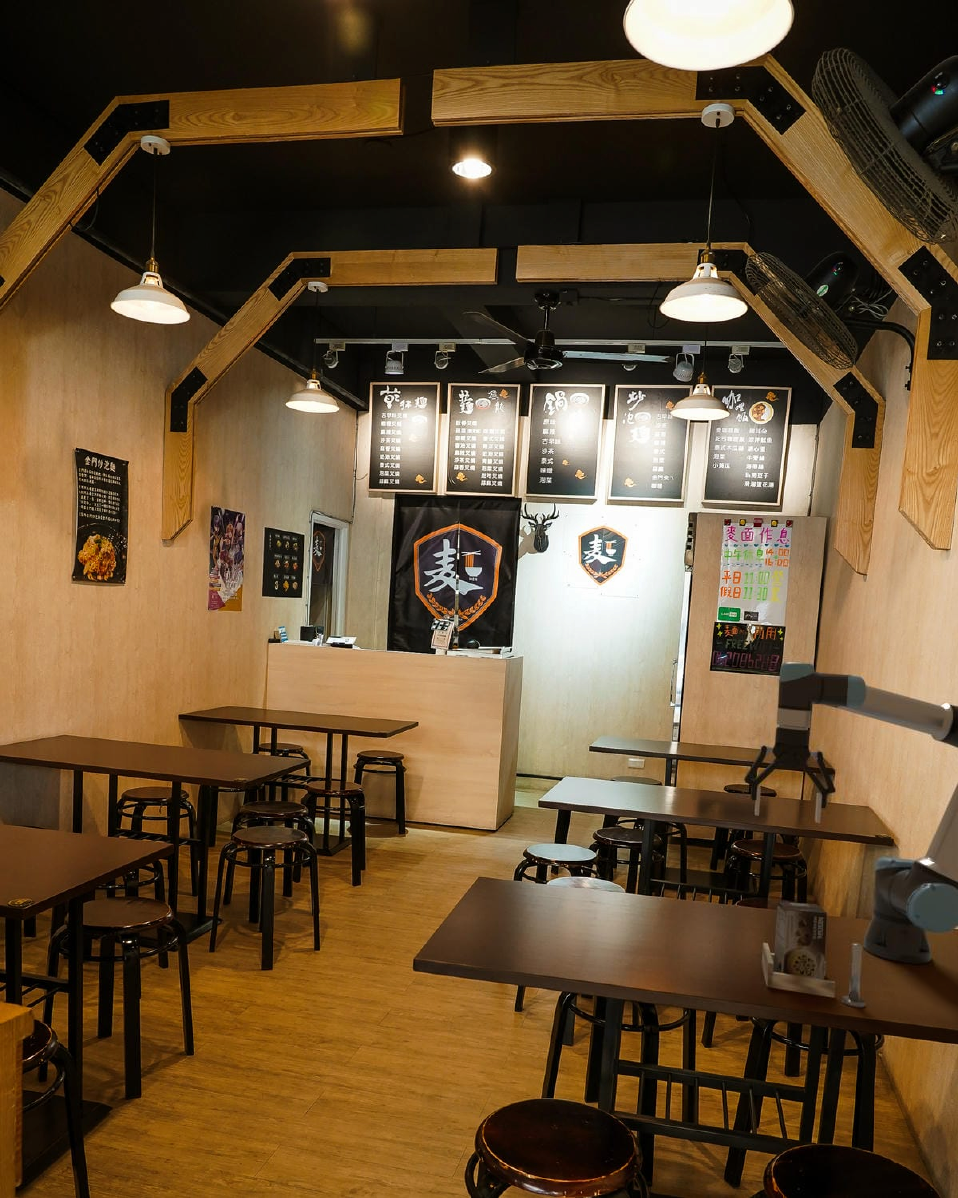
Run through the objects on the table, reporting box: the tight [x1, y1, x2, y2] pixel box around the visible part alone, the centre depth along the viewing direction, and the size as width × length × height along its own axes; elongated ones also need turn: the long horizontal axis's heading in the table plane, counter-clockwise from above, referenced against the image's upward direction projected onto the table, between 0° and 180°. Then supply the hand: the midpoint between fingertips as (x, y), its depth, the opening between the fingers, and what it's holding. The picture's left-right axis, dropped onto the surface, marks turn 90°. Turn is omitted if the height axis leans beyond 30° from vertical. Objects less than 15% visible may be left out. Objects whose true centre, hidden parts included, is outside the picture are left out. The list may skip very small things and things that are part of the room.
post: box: [841, 942, 866, 1009], centre depth 185 cm, size 4×4×12 cm
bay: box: [761, 942, 836, 999], centre depth 195 cm, size 14×14×5 cm
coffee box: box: [773, 901, 828, 980], centre depth 195 cm, size 9×6×16 cm
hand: (786, 818), depth 210 cm, fingers open, 13 cm apart
